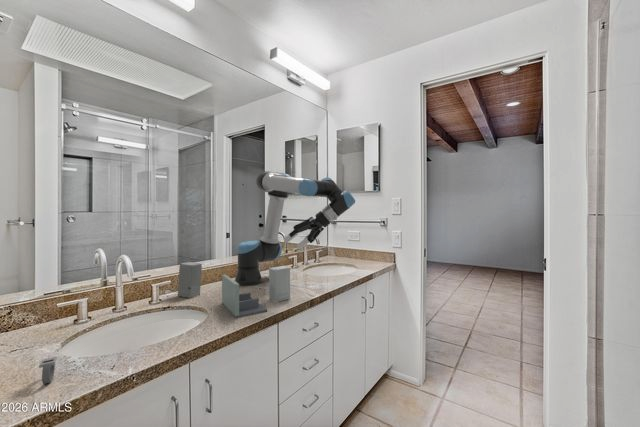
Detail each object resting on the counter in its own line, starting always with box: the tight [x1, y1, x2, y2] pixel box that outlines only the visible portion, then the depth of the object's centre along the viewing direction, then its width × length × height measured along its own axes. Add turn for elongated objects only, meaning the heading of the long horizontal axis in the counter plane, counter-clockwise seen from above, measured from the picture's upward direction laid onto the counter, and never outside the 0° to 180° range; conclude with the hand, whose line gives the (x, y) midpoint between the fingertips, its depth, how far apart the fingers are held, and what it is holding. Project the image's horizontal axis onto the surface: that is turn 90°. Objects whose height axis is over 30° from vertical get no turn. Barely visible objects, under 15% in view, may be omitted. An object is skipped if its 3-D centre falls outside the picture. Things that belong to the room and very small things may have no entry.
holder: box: [221, 274, 268, 319], centre depth 119 cm, size 20×13×13 cm, turn 33°
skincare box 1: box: [177, 261, 203, 299], centre depth 136 cm, size 8×7×16 cm
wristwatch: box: [38, 356, 58, 385], centre depth 67 cm, size 6×3×5 cm, turn 35°
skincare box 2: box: [268, 265, 291, 303], centre depth 130 cm, size 8×6×15 cm
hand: (291, 244), depth 134 cm, fingers open, 13 cm apart
